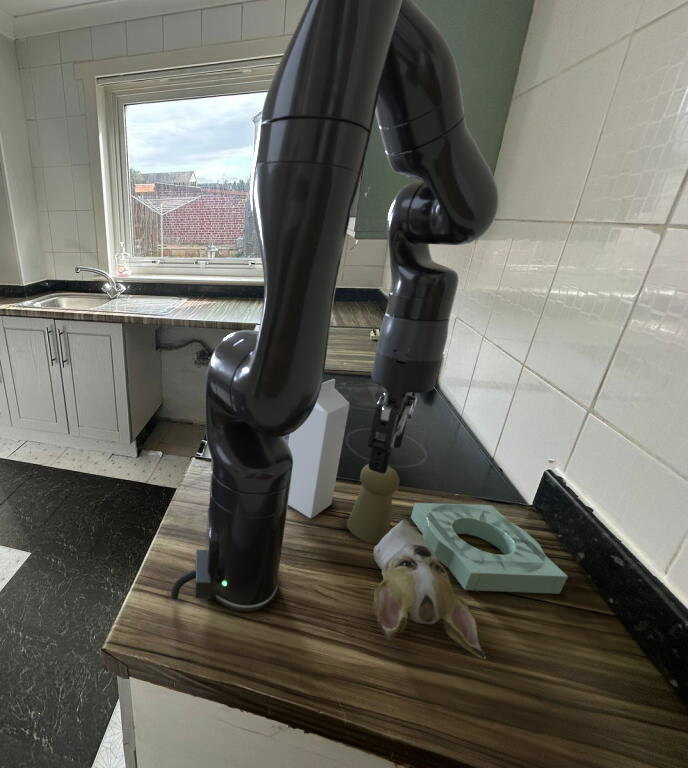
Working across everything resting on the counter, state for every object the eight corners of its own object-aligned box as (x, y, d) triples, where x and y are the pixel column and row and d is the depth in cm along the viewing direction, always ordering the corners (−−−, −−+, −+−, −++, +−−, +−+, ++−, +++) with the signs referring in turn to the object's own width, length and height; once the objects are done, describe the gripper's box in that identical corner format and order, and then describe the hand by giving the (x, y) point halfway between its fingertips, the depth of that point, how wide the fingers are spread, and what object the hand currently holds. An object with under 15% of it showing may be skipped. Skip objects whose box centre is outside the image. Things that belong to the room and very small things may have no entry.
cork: (380, 517, 65) (394, 458, 61) (396, 544, 60) (412, 482, 56) (342, 514, 66) (353, 456, 62) (353, 541, 60) (367, 479, 56)
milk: (331, 504, 68) (354, 384, 60) (310, 519, 65) (332, 393, 56) (301, 487, 72) (319, 372, 64) (279, 500, 69) (296, 380, 61)
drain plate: (458, 590, 52) (464, 572, 51) (405, 517, 65) (409, 502, 64) (566, 594, 52) (575, 576, 51) (491, 520, 65) (497, 505, 64)
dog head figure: (451, 515, 52) (511, 623, 39) (434, 563, 56) (484, 677, 43) (363, 504, 54) (392, 602, 41) (352, 551, 58) (376, 655, 45)
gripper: (391, 334, 59) (371, 431, 65) (362, 357, 49) (342, 470, 55) (450, 343, 55) (424, 446, 61) (432, 370, 45) (402, 491, 51)
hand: (385, 457), depth 58 cm, fingers open, 8 cm apart
